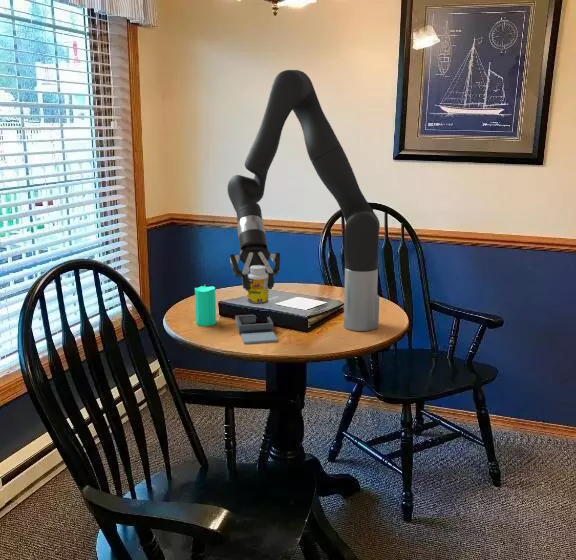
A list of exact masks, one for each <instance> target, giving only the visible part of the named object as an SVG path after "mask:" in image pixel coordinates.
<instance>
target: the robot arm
mask: <svg viewBox="0 0 576 560" xmlns="http://www.w3.org/2000/svg"><path fill="white" fill-rule="evenodd" d="M292 111H293V114H294V115H295V117H296V119H297V120H298V122H299V125H300V127H301V130H302V132H303V138H304V142H305V148H306V151H307V155H308V158H309V160H310V162H311V164H312V166H313V168H314V170H315V172H316V174H317V176H318V177H319V179H320V180H321V182H322V183H323V184H324V186H325V187H326V189H327V190H328V192H329V193H330V194H331V195H332V196H333V198H334V199H335V200H336V203H337V205H338V206H339V208H340V211H341V213H342V216H343V218H344V221H345V226H344V252H343V253H344V255H343V256H344V291H343V292H344V293H343V294H344V298H343V300H344V302H343V327H344V328H345V329H348V330H350V331H354V332H355V331H356V332H367V331H373V330H374V329H379V325H380V323H379V321H380V295H379V294H378V277H379V276H378V275H379V240H380V236H379V235H380V228H381V227H380V226H381V224H380V223H381V222H380V220H379V217H378V216H377V214H376V213H375V211H374V210H373V209H372V207H371V205H370V204H369V202H368V201H367V199H366V198H365V196H364V194H363V192H362V190H361V189H360V185H359V184H358V181H357V177H356V175H355V172H354V170H353V168H352V165H351V164H350V161H349V158H348V157H347V154H346V152H345V150H344V148H343V146H342V144H341V143H340V141H339V139H338V137H337V135H336V133H335V131H334V130H333V127H332V125H331V124H330V122H329V120H328V119H327V117H326V115H325V113H324V111H323V109H322V106H321V104H320V101H319V98H318V96H317V93H316V90H315V88H314V85H313V82H312V80H311V78H310V77H309V75H308V74H306V73H305V72H304V71H301V70H299V69H287V70H282V71H281V72H279V73H278V74H276V76H275V77H274V79H273V82H272V86H271V89H270V92H269V97H268V100H267V104H266V107H265V110H264V114H263V117H262V120H261V124H260V126H259V128H258V131H257V133H256V135H255V138H254V140H253V143H252V145H251V147H250V149H249V151H248V154H247V156H246V159H245V161H244V167H245V169H246V170H247V171H249V172H250V173H252V174H253V175H254V177H253V178H251V177H247V176H244V175H242V174H235V175H232V177H230V179H229V181H228V184H227V194H228V195H227V196H228V198H229V200H230V202H231V206H233V209H234V211H235V212H236V213H235V214H236V217H237V219H236V221H237V236H238V237H237V238H238V243H239V254H236V255H235V254H233V253H232V254H230V256H229V263H230V267H231V269H232V273H233V275H234V277H235V278H240V279H241V283H242V284H241V285H242V288H243V290H244V289H245V291H247V292H248V290H249V283H248V274H249V271H250V267H251V266H254V265H262V266H265V270H266V271H265V273H267V274H268V291H270V290H272V289H273V288H274V285H275V278H274V277H275V276H279V272H280V268H281V267H280V265H281V253H280V252H276V253H271V252H270V251H269V249H268V241H267V235H266V234H267V233H266V229H265V223H264V221H263V215H262V208H261V206H260V204H259V202H260V201H262V199H263V198H264V195H265V194H264V193H265V189H266V182H267V176H268V172H269V171H270V170H269V169H270V167H271V165H272V163H273V161H274V159H275V156H276V154H277V151H278V149H279V145H280V140H281V136H282V132H283V130H284V129H283V128H284V125H285V123H286V121H287V119H288V118H289V116H290V114H291V112H292ZM270 259H271V261H272V263H274V265H273V269H272V267H271V264H270V263H269V260H270ZM239 261H241V262H242V264H244V266H243V269H242V270H240V268H239V265H238V264H239Z"/></svg>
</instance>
